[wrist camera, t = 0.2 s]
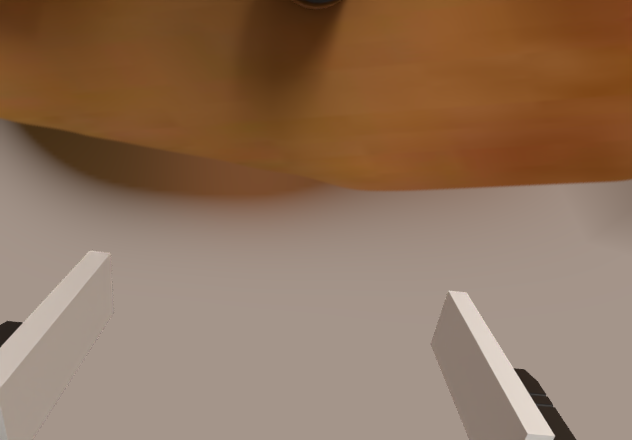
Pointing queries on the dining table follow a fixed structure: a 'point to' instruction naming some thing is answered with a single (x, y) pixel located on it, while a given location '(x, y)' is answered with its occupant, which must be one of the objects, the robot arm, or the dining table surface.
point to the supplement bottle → (315, 3)
